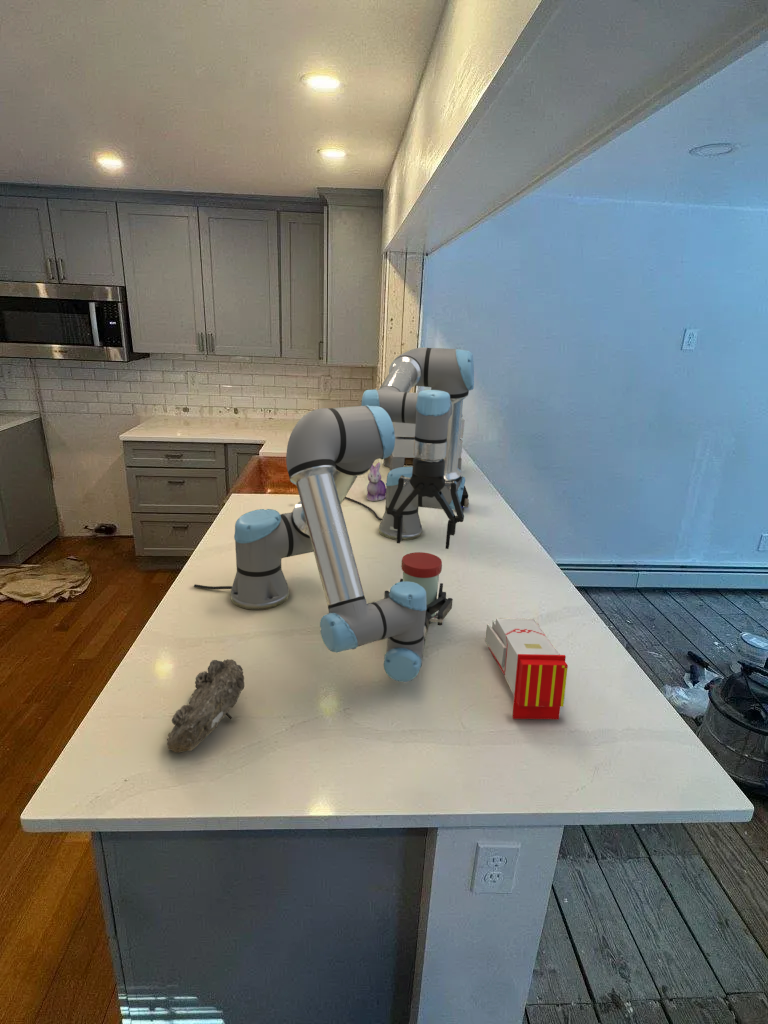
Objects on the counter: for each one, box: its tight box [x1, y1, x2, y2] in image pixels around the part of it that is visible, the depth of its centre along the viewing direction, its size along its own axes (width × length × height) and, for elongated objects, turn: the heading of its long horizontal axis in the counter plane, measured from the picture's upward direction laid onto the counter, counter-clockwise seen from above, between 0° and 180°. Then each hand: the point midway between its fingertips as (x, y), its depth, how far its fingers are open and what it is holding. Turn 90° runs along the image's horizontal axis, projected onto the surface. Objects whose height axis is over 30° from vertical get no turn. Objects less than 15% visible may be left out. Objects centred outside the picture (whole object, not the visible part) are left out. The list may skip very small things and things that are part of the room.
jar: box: [402, 571, 440, 624], centre depth 144 cm, size 9×9×16 cm
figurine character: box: [460, 485, 470, 512], centre depth 229 cm, size 7×8×15 cm
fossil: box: [166, 658, 245, 754], centre depth 106 cm, size 22×10×15 cm
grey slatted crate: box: [383, 417, 465, 472], centre depth 268 cm, size 34×33×41 cm
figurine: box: [365, 462, 386, 502], centre depth 233 cm, size 9×10×15 cm
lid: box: [400, 551, 443, 578], centre depth 142 cm, size 10×10×2 cm
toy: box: [484, 617, 569, 720], centre depth 122 cm, size 12×13×30 cm
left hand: (421, 585), depth 149 cm, fingers open, 10 cm apart
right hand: (423, 544), depth 140 cm, fingers open, 11 cm apart
